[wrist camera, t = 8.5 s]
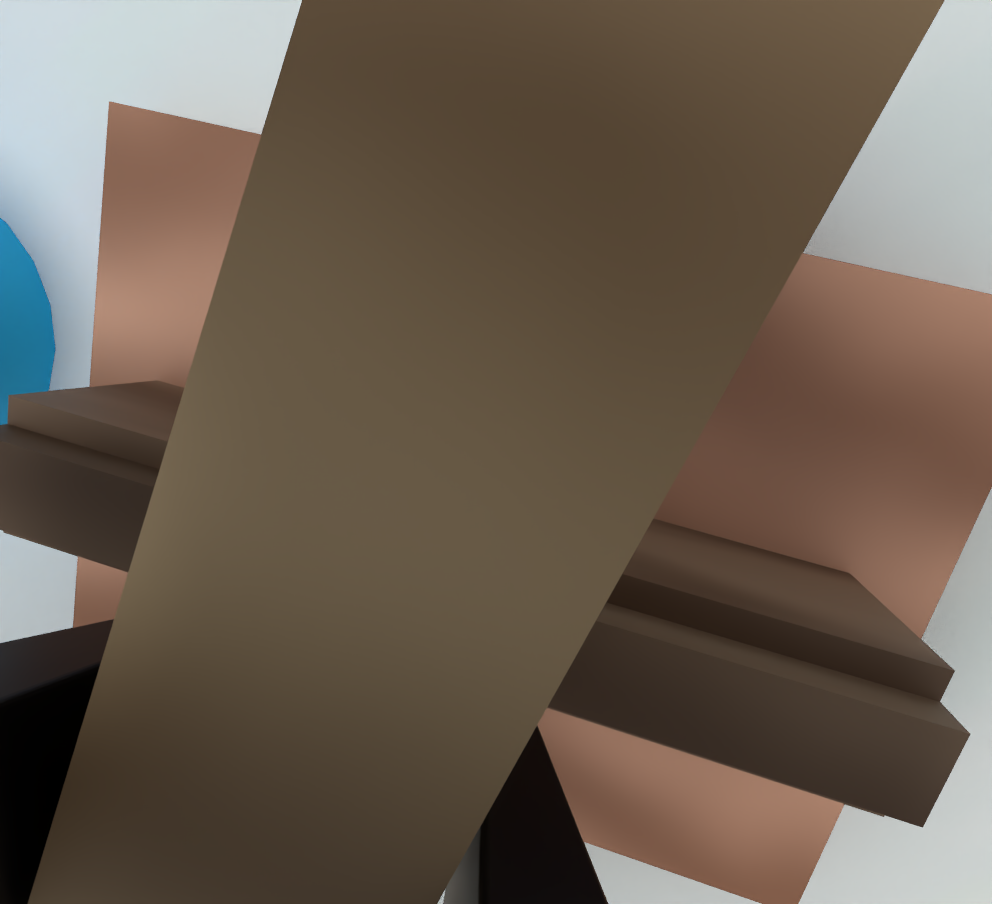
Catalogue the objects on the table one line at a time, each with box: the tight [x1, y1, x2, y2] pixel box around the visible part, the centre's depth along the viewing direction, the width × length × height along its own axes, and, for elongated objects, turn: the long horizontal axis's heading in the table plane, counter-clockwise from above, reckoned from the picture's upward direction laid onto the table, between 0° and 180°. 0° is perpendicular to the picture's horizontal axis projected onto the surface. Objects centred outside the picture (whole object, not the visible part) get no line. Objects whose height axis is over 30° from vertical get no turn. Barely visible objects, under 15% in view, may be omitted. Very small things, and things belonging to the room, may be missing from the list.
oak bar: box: [28, 0, 944, 904], centre depth 7 cm, size 20×4×4 cm, turn 155°
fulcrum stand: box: [0, 102, 992, 904], centre depth 13 cm, size 16×22×6 cm
